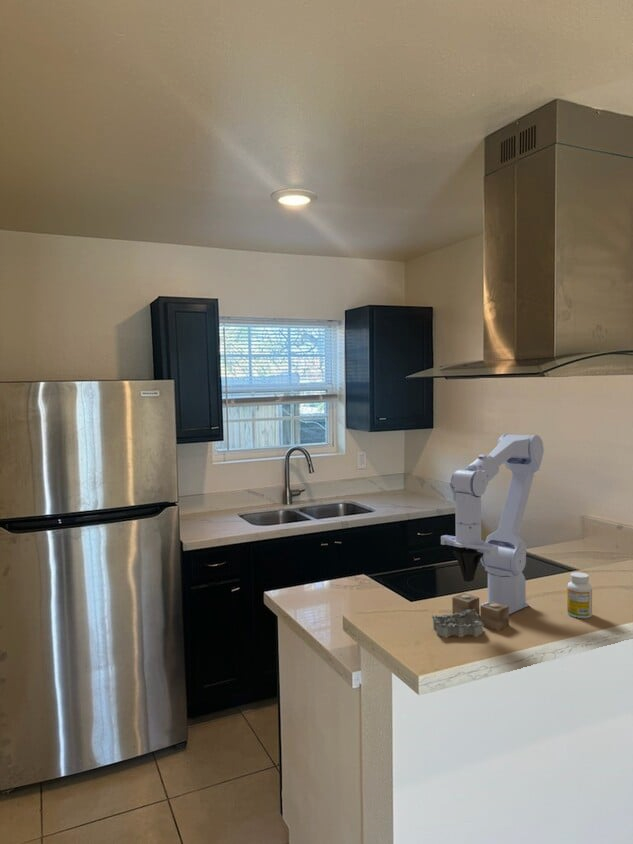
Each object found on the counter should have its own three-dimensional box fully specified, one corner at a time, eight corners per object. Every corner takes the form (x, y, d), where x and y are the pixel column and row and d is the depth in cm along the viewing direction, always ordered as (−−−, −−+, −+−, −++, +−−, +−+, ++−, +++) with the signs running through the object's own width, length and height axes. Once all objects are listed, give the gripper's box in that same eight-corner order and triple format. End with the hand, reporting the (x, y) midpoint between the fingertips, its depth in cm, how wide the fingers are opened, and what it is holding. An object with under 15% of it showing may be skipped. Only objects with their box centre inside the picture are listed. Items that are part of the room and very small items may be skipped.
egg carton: (477, 625, 136) (477, 608, 136) (485, 639, 129) (485, 620, 129) (431, 625, 137) (431, 608, 137) (436, 638, 129) (436, 620, 129)
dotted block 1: (464, 610, 145) (463, 592, 145) (479, 615, 142) (479, 596, 141) (452, 615, 142) (452, 596, 142) (468, 620, 139) (467, 601, 138)
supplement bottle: (575, 608, 144) (575, 569, 144) (596, 615, 140) (596, 574, 139) (562, 614, 141) (562, 574, 141) (584, 620, 137) (584, 579, 136)
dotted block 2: (491, 619, 139) (491, 600, 139) (508, 625, 135) (508, 605, 135) (480, 625, 136) (480, 605, 136) (497, 630, 133) (497, 610, 132)
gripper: (432, 519, 138) (432, 576, 139) (484, 530, 127) (485, 592, 127) (451, 515, 143) (451, 570, 143) (503, 525, 131) (503, 584, 132)
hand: (468, 580), depth 136 cm, fingers closed
